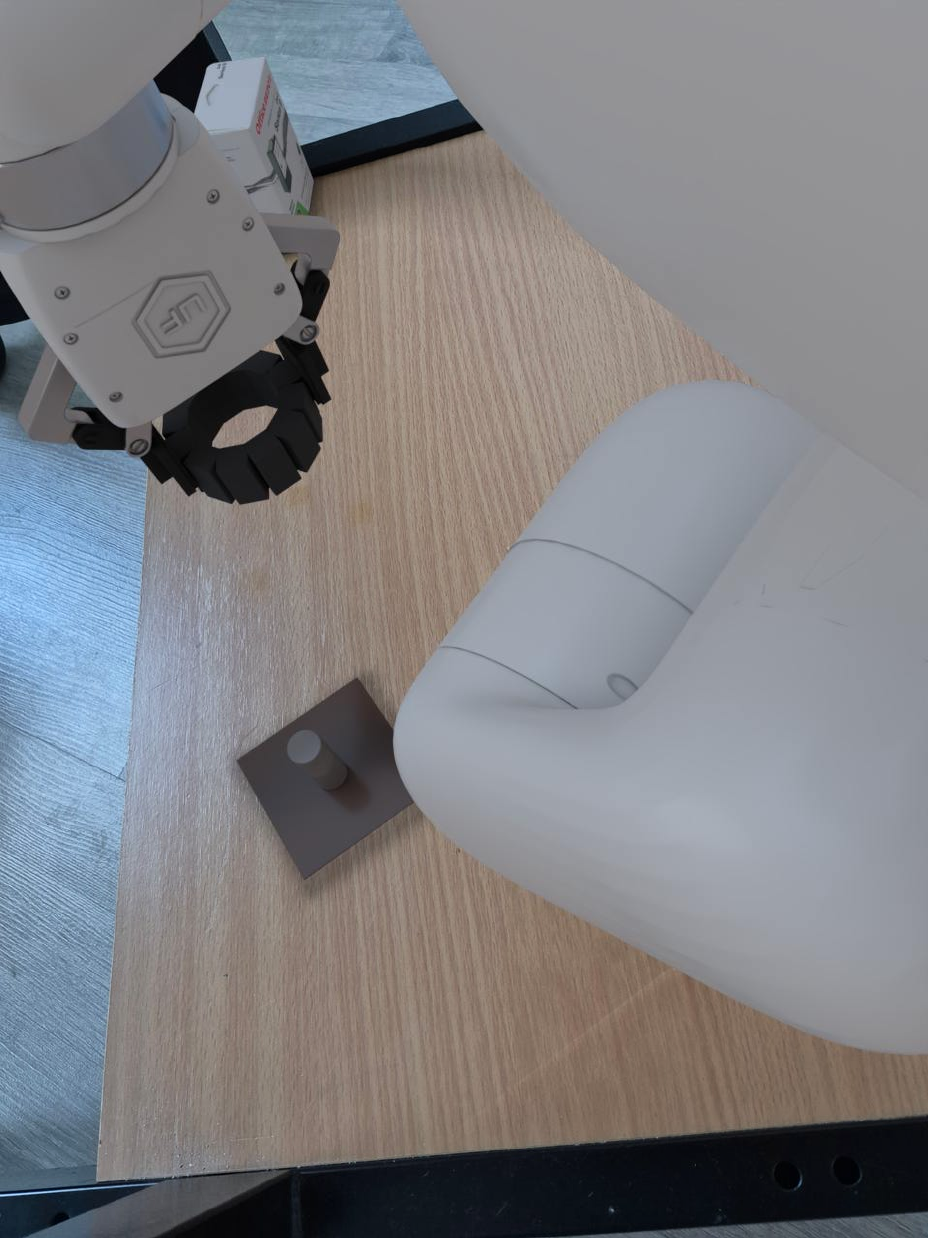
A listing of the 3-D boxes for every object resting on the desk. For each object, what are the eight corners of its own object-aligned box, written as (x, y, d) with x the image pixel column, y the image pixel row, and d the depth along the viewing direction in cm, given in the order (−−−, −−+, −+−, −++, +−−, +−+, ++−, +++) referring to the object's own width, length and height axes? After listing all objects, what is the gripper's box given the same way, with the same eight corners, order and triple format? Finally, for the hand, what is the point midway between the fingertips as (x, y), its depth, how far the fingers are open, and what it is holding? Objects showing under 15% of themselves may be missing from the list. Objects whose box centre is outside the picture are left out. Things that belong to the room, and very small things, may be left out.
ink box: (305, 252, 83) (250, 127, 73) (248, 259, 84) (186, 137, 74) (316, 179, 87) (266, 50, 76) (262, 186, 88) (205, 60, 77)
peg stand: (438, 795, 60) (412, 760, 54) (312, 885, 59) (272, 860, 53) (363, 685, 64) (332, 642, 58) (245, 768, 63) (201, 732, 57)
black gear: (349, 446, 51) (331, 409, 48) (228, 530, 50) (203, 497, 48) (278, 363, 54) (258, 325, 52) (164, 440, 54) (137, 405, 51)
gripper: (-118, 326, 33) (135, 578, 49) (316, 53, 35) (425, 379, 51) (-181, 212, 36) (74, 482, 52) (218, -31, 39) (348, 299, 54)
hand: (246, 429), depth 51 cm, fingers closed on black gear, 7 cm apart
